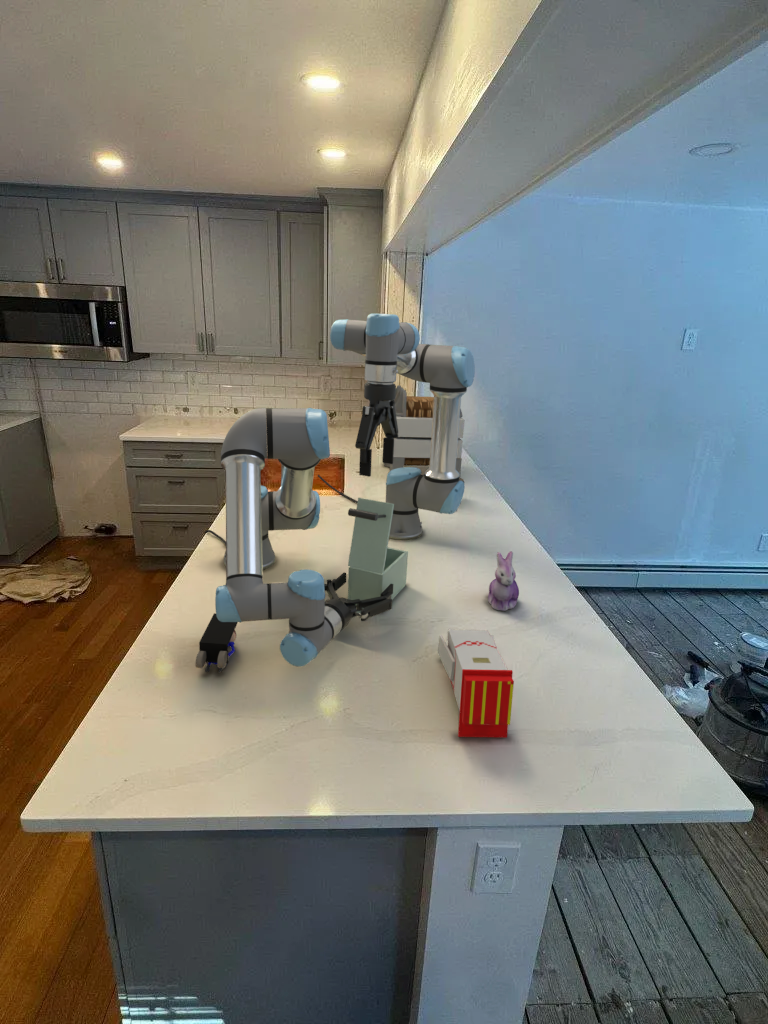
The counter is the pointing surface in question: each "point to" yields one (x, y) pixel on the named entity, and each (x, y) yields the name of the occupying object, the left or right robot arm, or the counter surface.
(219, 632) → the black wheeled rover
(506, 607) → the figurine
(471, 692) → the toy
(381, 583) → the chest
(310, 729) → the counter surface
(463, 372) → the right robot arm
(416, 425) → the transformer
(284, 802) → the counter surface
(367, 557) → the lid
